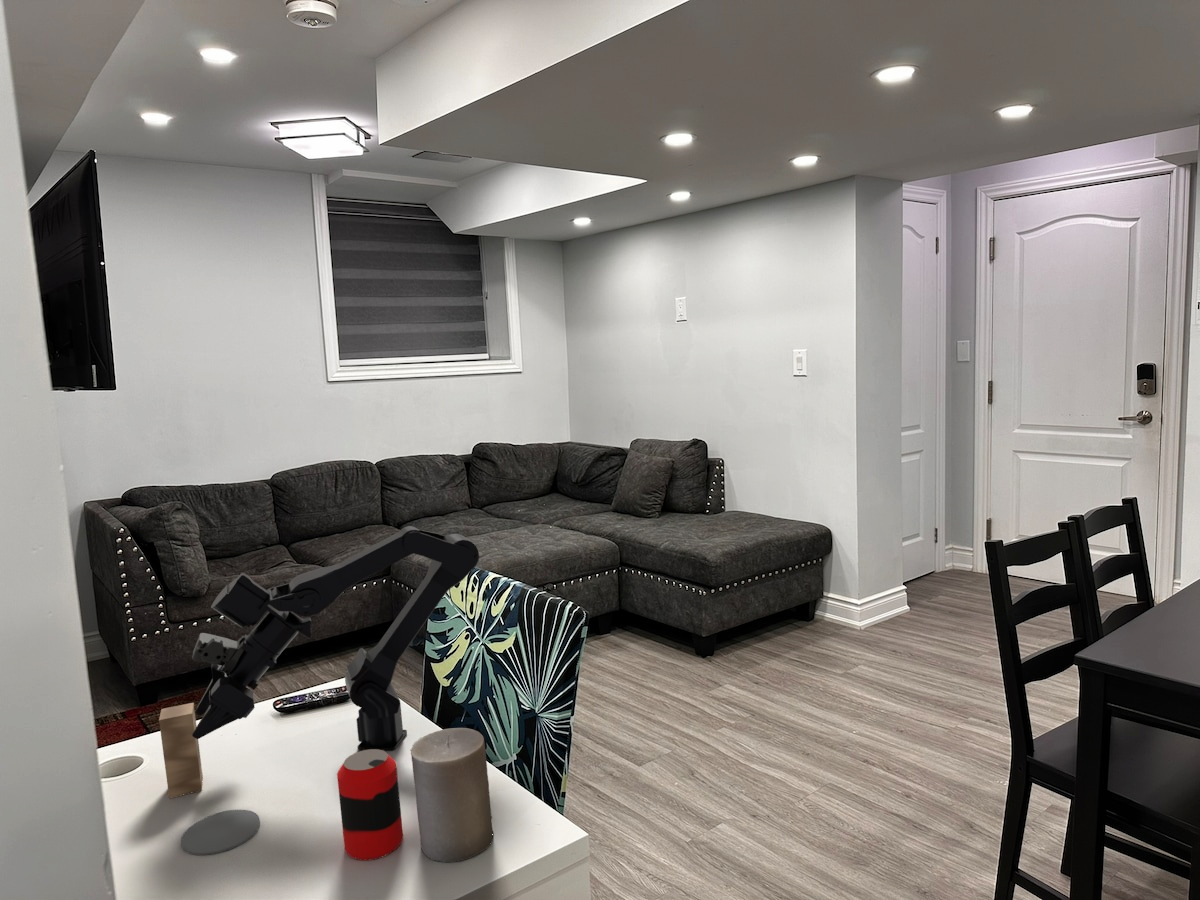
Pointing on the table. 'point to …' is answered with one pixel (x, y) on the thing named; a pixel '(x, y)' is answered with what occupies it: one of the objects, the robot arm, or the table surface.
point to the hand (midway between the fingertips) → (196, 725)
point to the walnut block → (180, 750)
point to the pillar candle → (452, 794)
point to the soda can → (370, 804)
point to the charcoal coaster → (220, 832)
